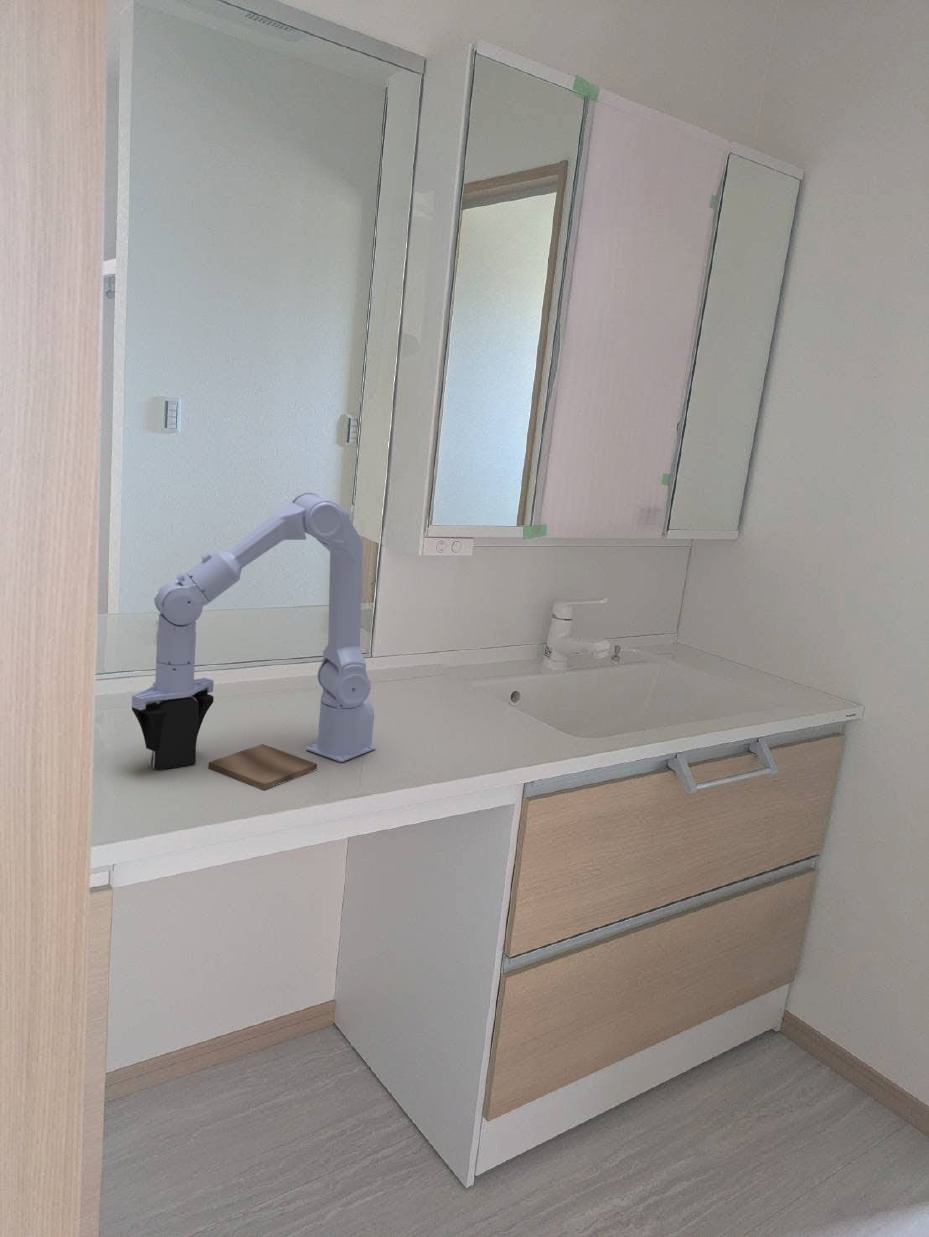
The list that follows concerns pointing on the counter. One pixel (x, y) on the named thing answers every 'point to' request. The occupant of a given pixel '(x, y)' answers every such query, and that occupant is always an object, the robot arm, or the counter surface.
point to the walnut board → (262, 766)
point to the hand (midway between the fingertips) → (171, 743)
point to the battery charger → (177, 734)
